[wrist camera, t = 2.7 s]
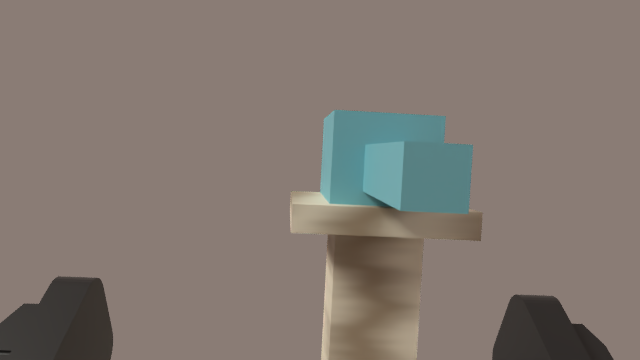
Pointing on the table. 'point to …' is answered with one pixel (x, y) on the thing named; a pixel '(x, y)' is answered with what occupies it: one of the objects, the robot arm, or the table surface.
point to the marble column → (374, 272)
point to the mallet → (394, 162)
